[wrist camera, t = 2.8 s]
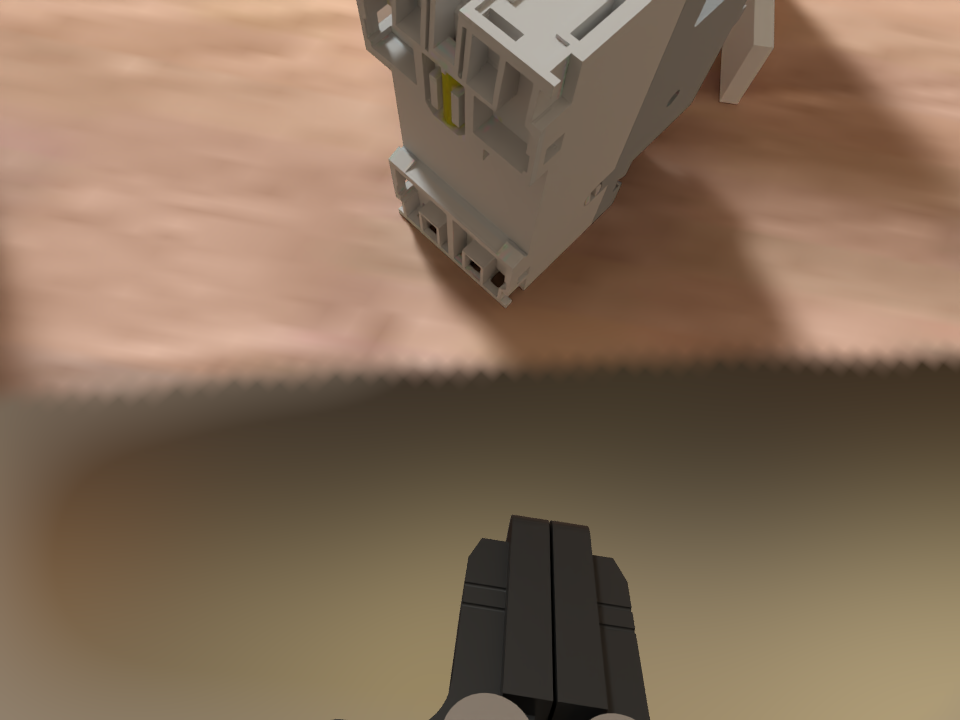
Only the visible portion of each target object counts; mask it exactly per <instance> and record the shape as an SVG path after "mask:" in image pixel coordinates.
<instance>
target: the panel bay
mask: <svg viewBox="0 0 960 720" xmlns="http://www.w3.org/2000/svg"><path fill="white" fill-rule="evenodd" d="M745 5H746V8H745V10H744V11H743V13H742V15H741V17H740V19H739V21H738V22H737V23H736V24H735V25H734V26H733V27H732V29H731V31H730V33H729V35H728V36H727V38H726V40H725V42H724V44H723V46H722V55H721V77H720V100H719V102H725V103H732V104H738V102H739V101H740V99H741V98H742V96H743V95H744V93H745V92H746V90H747V89H748V87H749V86H750V84H751V82H752V81H753V79H754V78H755V76H756V75H757V73H758V72H759V70H760V69H761V67H762V65H763V64H764V62H765V61H766V59H767V58H768V56H769V55H770V53H771V52H772V50H773V49H774V8H775V0H747V1H746V3H745ZM390 14H392V7H391V6H389V5H388V4H387V5H386V6H384V7H383V8H382V9H380V10H379V11H378V12H377V17H378V23H380V22H381V21H383V20H384V19H385V18H387V17H388V16H389V15H390Z"/></svg>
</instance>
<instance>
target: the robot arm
mask: <svg viewBox="0 0 960 720" xmlns="http://www.w3.org/2000/svg"><path fill="white" fill-rule="evenodd" d="M634 630H635V626H634V620H633V614H632V612H631V602H630V596H629V589H628V583H627V581H626V579H625V577H624V576H623V574H622V572H621V571H620V569H619V567H618V566H617V564H616V563H615V561H614V559H613V558H607V557H602V556H595V555H592V550H591V539H590V531H589V528H588V526H583V525H577V524H570V523H564V522H557V521H550V523H549V521H548V520H543V519H537V518H530V517H524V516H518V515H512V516H511V519H510V523H509V529H508V533H507V539H506V542H504V541H498V540H492V539H485V538H482V539H481V540H480V542H479V543H478V545H477V546H476V547H475V549H474V550H473V552H472V553H471V555H470V556H469V558H468V563H467V570H466V577H465V582H464V589H463V595H462V601H461V608H460V614H459V622H458V629H457V636H456V643H455V650H454V659H453V665H452V672H451V680H450V687H449V694H448V696H447V699H446V701H445V703H444V704H443V706H442V707H441V708H440V710H439V711H438V712H437V713H436V714H435V715H434V716H433V717H432V718H431V719H430V720H650V717H649V712H648V706H647V700H646V694H645V688H644V681H643V675H642V669H641V663H640V657H639V651H638V644H637V639H636V634H635V633H634ZM335 720H341V719H335Z"/></svg>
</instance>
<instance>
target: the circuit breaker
mask: <svg viewBox="0 0 960 720" xmlns="http://www.w3.org/2000/svg"><path fill="white" fill-rule="evenodd" d="M356 1H357V6H358V11H359V16H360V21H361V26H362V31H363V35H364V40H365V45H366V50H368V51H369V52H370V53H371V54H372V55H374V56H375V57H376V58H377V59H378V60H379V61H381V62H382V63H383V64H384V65H385V66H386V67H388V68H389V69H390V70H391V71H392V76H393V82H394V88H395V95H396V101H397V108H398V114H399V120H400V127H401V133H402V140H403V147H402V148H400V147H398V148H397V150H396V151H395V152H394V153H393V154H392V155H391V157H390V158H389V164H390V169H391V174H392V179H393V184H394V189H395V194H396V197H397V198H398V199H400V200H401V201H402V206H401V207H400V208H399V213H400V214H401V215H403V216H404V217H405V218H406V219H407V220H408V221H409V222H410V223H411V224H413V225H414V226H415V227H416V228H417V229H418V230H419V231H420V232H421V233H422V234H424V235H425V236H426V237H427V238H428V239H429V240H430V241H431V242H432V243H434V244H435V245H436V246H437V247H438V248H439V249H440V250H441V251H442V252H444V253H445V254H446V255H447V256H448V257H449V258H450V259H451V260H452V261H453V262H455V263H456V264H457V265H458V266H459V267H460V268H461V269H462V270H463V271H465V272H466V273H467V274H468V275H469V276H470V277H471V278H472V279H473V280H474V281H476V282H477V283H478V284H479V285H480V286H481V287H482V288H483V289H484V290H486V291H487V292H488V293H489V294H490V295H491V296H492V297H493V298H494V299H496V300H497V301H498V302H499V303H500V304H501V305H502V306H503V307H504V308H506V307H507V306H508V305H509V304H511V302H512V300H511V299H510V298H509V297H508V296H509V295H510V294H511V293H512V292H513V291H514V290H515V289H516V288H517V287H518V286H519V287H520V288H521V289H523V290H525V289H526V288H527V287H528V286H529V285H530V284H531V283H532V282H533V281H534V280H535V279H536V278H537V277H538V276H539V275H540V274H541V273H542V272H543V271H544V270H545V269H546V268H547V267H548V266H549V265H550V264H551V263H552V262H553V261H554V260H555V259H556V258H557V257H559V256H560V255H561V254H562V253H563V252H564V251H565V250H566V249H567V248H568V247H569V246H570V245H571V244H572V243H573V242H574V241H575V240H576V239H577V238H578V237H579V236H580V235H581V234H582V233H583V232H584V231H585V230H586V229H587V228H588V227H589V226H590V225H591V224H592V223H593V222H594V221H595V220H596V219H597V218H598V217H599V216H600V215H601V214H602V213H603V212H604V211H605V210H606V209H608V208H609V207H610V206H611V204H612V203H613V201H614V199H615V197H616V195H617V193H618V190H619V188H620V186H621V184H622V183H621V182H620V181H618V180H619V179H620V178H622V177H624V176H625V175H626V173H627V171H628V169H629V167H630V164H631V163H632V161H633V160H634V159H635V158H636V157H637V156H638V155H639V154H640V153H641V152H642V151H643V150H644V149H645V148H646V147H647V146H648V145H649V144H650V143H651V142H652V141H653V140H654V139H655V138H657V137H658V136H659V135H660V134H661V133H662V132H663V131H664V130H665V129H666V128H667V127H668V126H669V125H670V124H671V123H672V122H673V121H674V120H675V119H676V118H677V117H678V116H679V115H680V114H681V113H682V112H683V111H684V110H685V109H686V108H687V107H689V106H690V104H691V103H692V101H693V99H694V98H695V96H696V94H697V92H698V90H699V88H700V87H701V85H702V83H703V81H704V79H705V77H706V75H707V74H708V72H709V70H710V68H711V66H712V64H713V62H714V61H715V59H716V57H717V55H718V53H719V51H720V49H721V47H722V46H723V44H724V42H725V40H726V38H727V36H728V35H729V33H730V31H731V29H732V27H733V26H734V25H735V24H736V23H737V22H738V21H739V19H740V17H741V15H742V13H743V11H744V10H745V8H746V5H745V3H746V1H747V0H356ZM387 4H388V5H389V6H391V7H392V14H390V15H389V16H388V17H387V18H385V19H384V20H383V21H381V22H380V23H378V17H377V12H378V11H379V10H380V9H382V8H383V7H384V6H386V5H387ZM406 179H407V180H408V181H407V182H406V183H405V180H406ZM431 225H433V226H434V227H435V228H436V231H437V235H436V234H435V233H434V232H433V231H432V230H431V229H430V228H429V227H430V226H431ZM461 253H462V255H461ZM472 261H473V262H474V263H476V264H477V265H478V266H479V267H480V268H481V270H480V273H479V272H477V271H476V270H475V269H474V268H473V267H472V266H471V265H470V263H471V262H472ZM499 271H500V272H501V273H502V274H503V275H505V280H504V281H505V283H504V284H503V285H502V286H501V287H499V288H497V287H496V286H495V285H494V284H493V283H492V282H491V279H492V278H493V277H494V276H495V275H496V274H497V273H498V272H499Z"/></svg>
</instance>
